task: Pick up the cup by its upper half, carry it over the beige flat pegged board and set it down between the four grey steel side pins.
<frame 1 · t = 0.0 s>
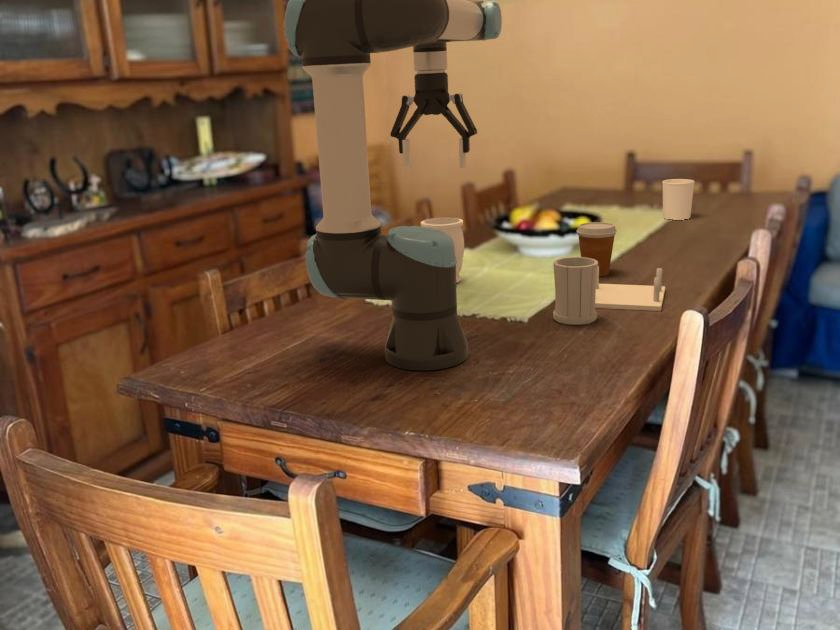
hand: (434, 167, 188), 28 cm above the table, fingers open, 13 cm apart
cup: (572, 319, 166), on the table
candle holder: (676, 219, 261), on the table
disposable coffee cup: (595, 274, 199), on the table
jar: (444, 282, 199), on the table
beige flat pegged board: (624, 298, 177), on the table
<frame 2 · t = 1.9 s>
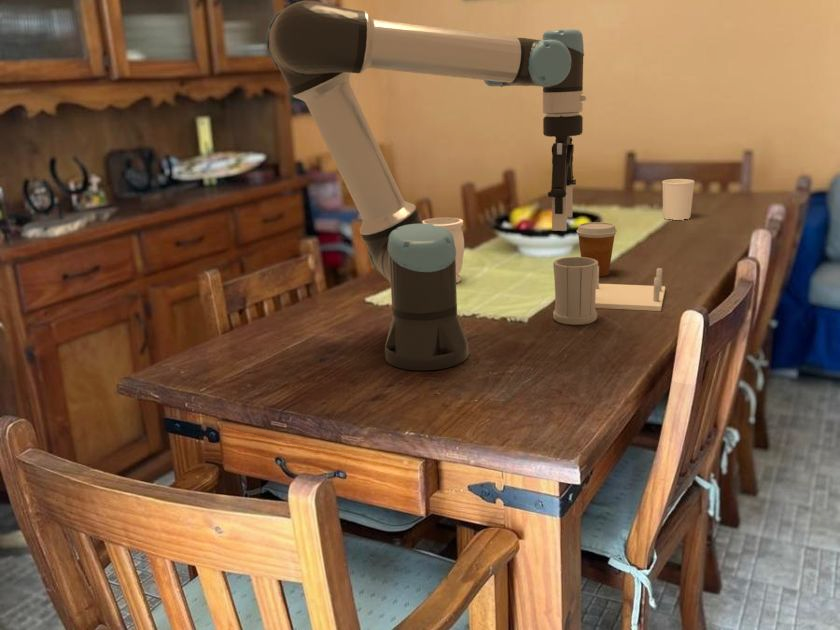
hand: (562, 223, 162), 19 cm above the table, fingers open, 13 cm apart
nothing on the table moved.
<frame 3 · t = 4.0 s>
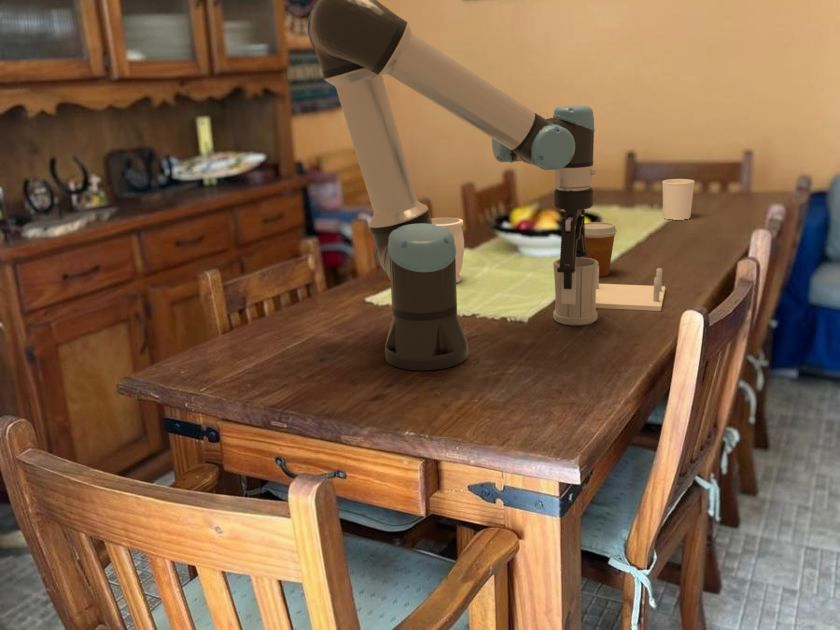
hand: (573, 295, 165), 5 cm above the table, fingers closed on cup, 11 cm apart
cup: (572, 319, 166), on the table, touching gripper
everything else where it was.
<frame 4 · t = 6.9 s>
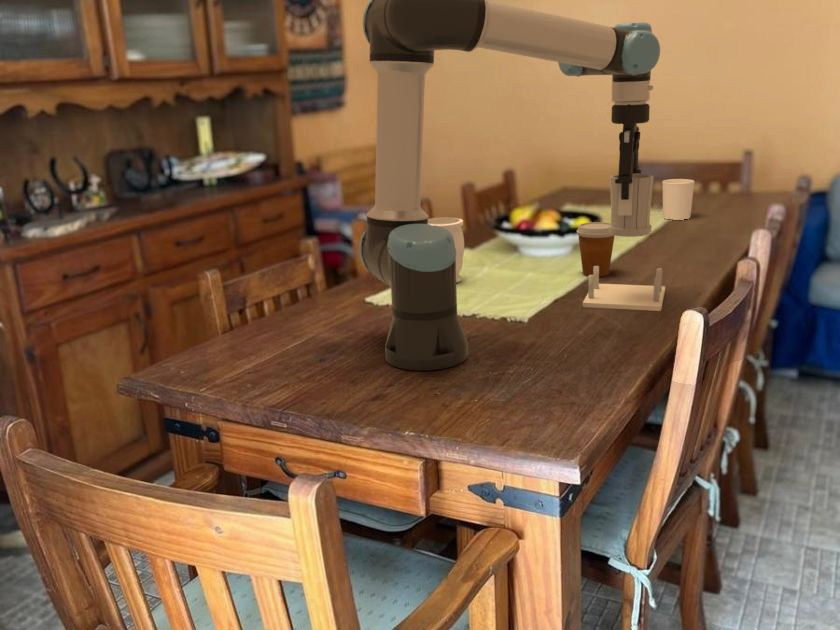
hand: (627, 210, 172), 20 cm above the table, fingers closed on cup, 11 cm apart
cup: (626, 233, 172), point 15 cm above the table, touching gripper
everything else where it was.
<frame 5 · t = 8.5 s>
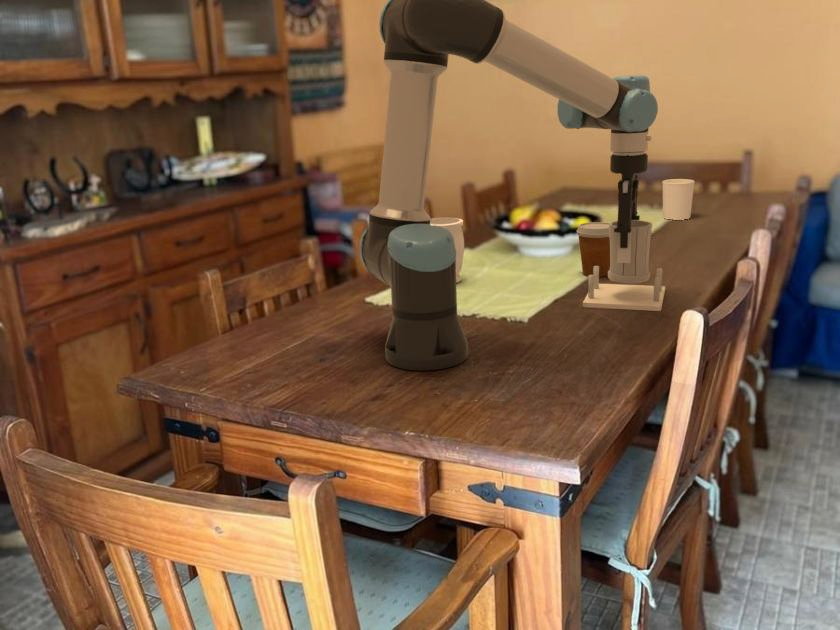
hand: (626, 256, 175), 10 cm above the table, fingers closed on cup, 11 cm apart
cup: (625, 278, 175), point 5 cm above the table, touching gripper
everything else where it was.
when the fingers open (6 cm above the table, at t = 9.8 s): cup stays where it is, resting on beige flat pegged board.
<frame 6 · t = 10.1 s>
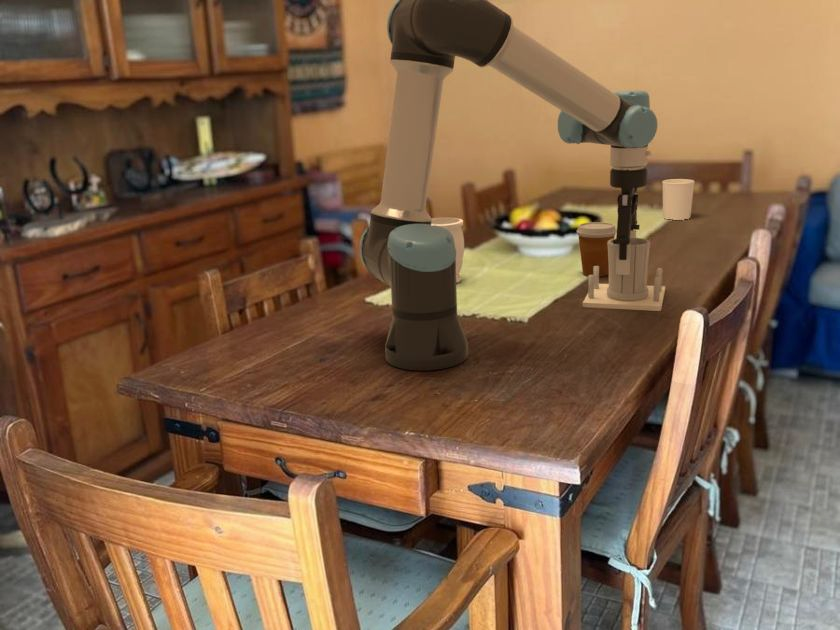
hand: (625, 266, 175), 7 cm above the table, fingers open, 13 cm apart
cup: (624, 295, 177), point 1 cm above the table, touching beige flat pegged board
everything else where it was.
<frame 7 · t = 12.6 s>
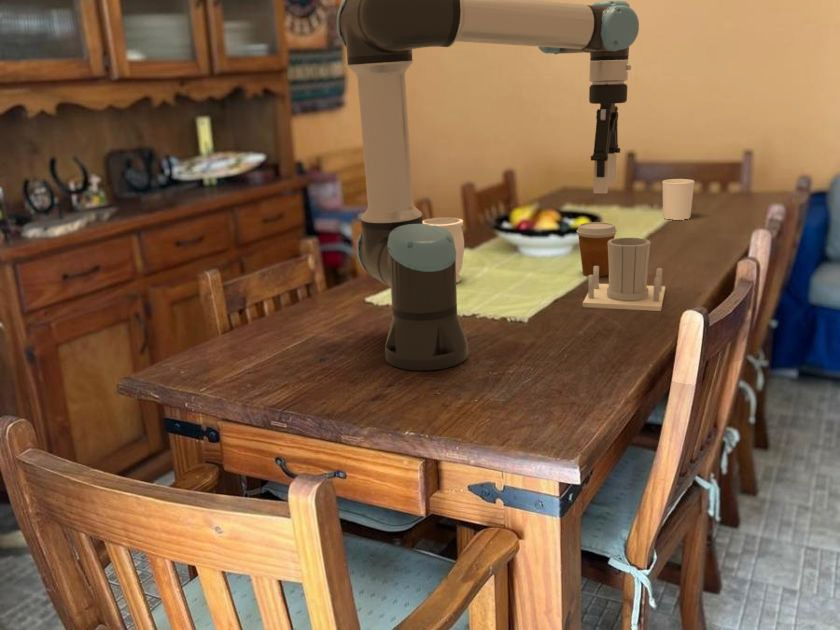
hand: (604, 188, 170), 24 cm above the table, fingers open, 13 cm apart
nothing on the table moved.
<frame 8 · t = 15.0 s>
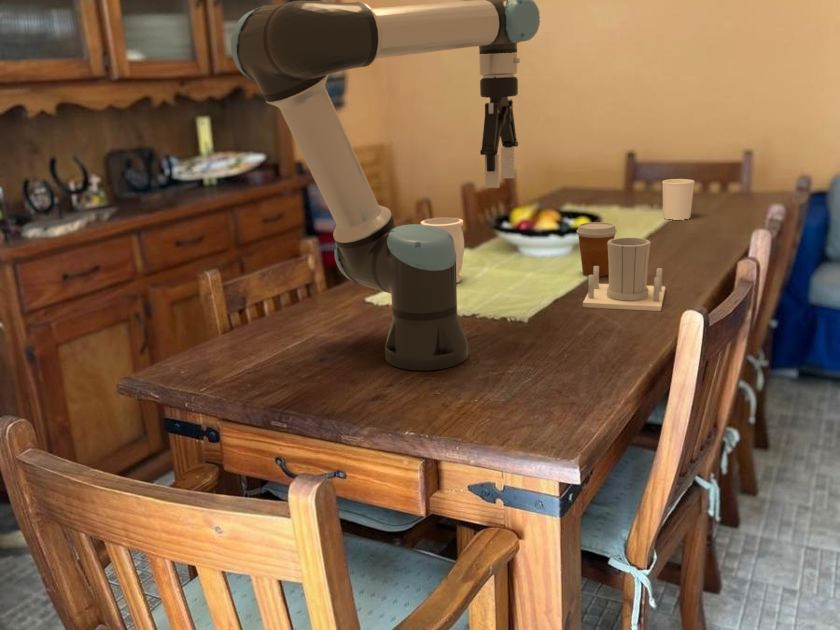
hand: (500, 182, 169), 27 cm above the table, fingers open, 13 cm apart
nothing on the table moved.
at the end: cup inside the target area on the beige flat pegged board (0.6 cm from its centre), point 0.8 cm above the beige flat pegged board's base; cup tilted 0°; the gripper is holding nothing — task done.
